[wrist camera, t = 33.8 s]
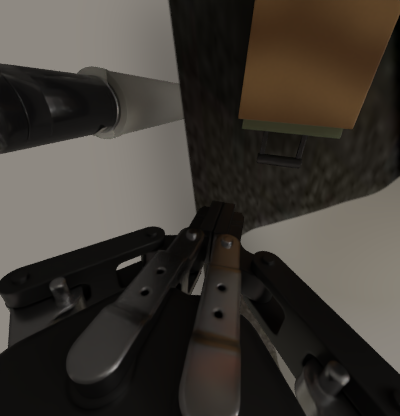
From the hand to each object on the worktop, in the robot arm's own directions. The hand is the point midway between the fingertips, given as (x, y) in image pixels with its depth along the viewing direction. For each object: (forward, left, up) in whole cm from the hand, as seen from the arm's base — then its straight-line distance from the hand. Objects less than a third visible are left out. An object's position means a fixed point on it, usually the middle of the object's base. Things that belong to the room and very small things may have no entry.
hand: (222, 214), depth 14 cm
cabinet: (+5, +12, -25) cm, 28 cm away
